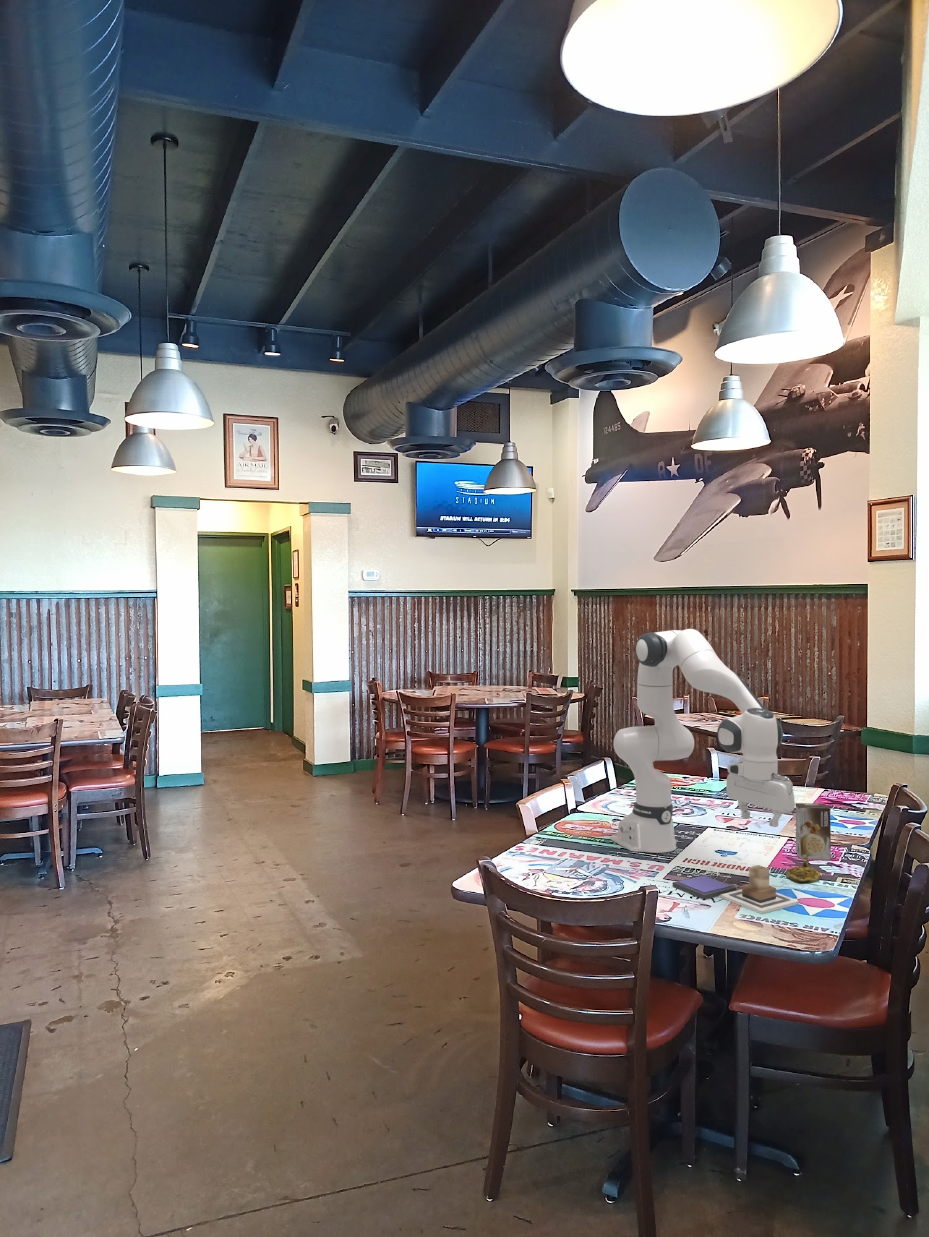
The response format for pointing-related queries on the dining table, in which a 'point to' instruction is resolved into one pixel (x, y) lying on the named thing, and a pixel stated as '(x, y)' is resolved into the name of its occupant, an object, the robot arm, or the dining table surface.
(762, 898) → the stamp
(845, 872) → the dining table surface
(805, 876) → the seal
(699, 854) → the dining table surface
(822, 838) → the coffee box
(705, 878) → the ink pad
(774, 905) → the board
